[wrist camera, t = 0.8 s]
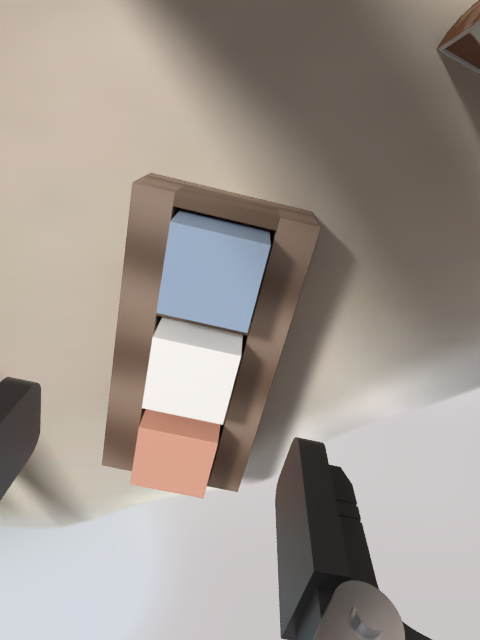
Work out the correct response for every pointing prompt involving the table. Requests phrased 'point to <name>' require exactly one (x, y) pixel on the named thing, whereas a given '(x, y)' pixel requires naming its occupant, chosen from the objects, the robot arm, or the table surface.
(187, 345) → the off-white key
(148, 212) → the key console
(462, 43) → the food container
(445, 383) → the table surface
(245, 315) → the slate blue key
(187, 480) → the terracotta key
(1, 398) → the robot arm
